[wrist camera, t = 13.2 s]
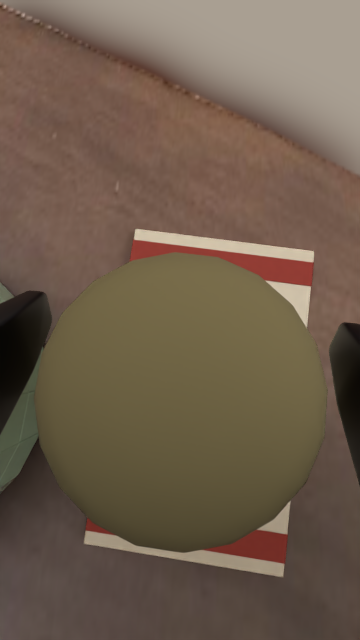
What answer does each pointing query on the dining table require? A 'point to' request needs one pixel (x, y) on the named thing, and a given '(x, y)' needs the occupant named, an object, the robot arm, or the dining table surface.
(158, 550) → the towel
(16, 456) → the bowl
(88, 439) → the cork
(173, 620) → the dining table surface
